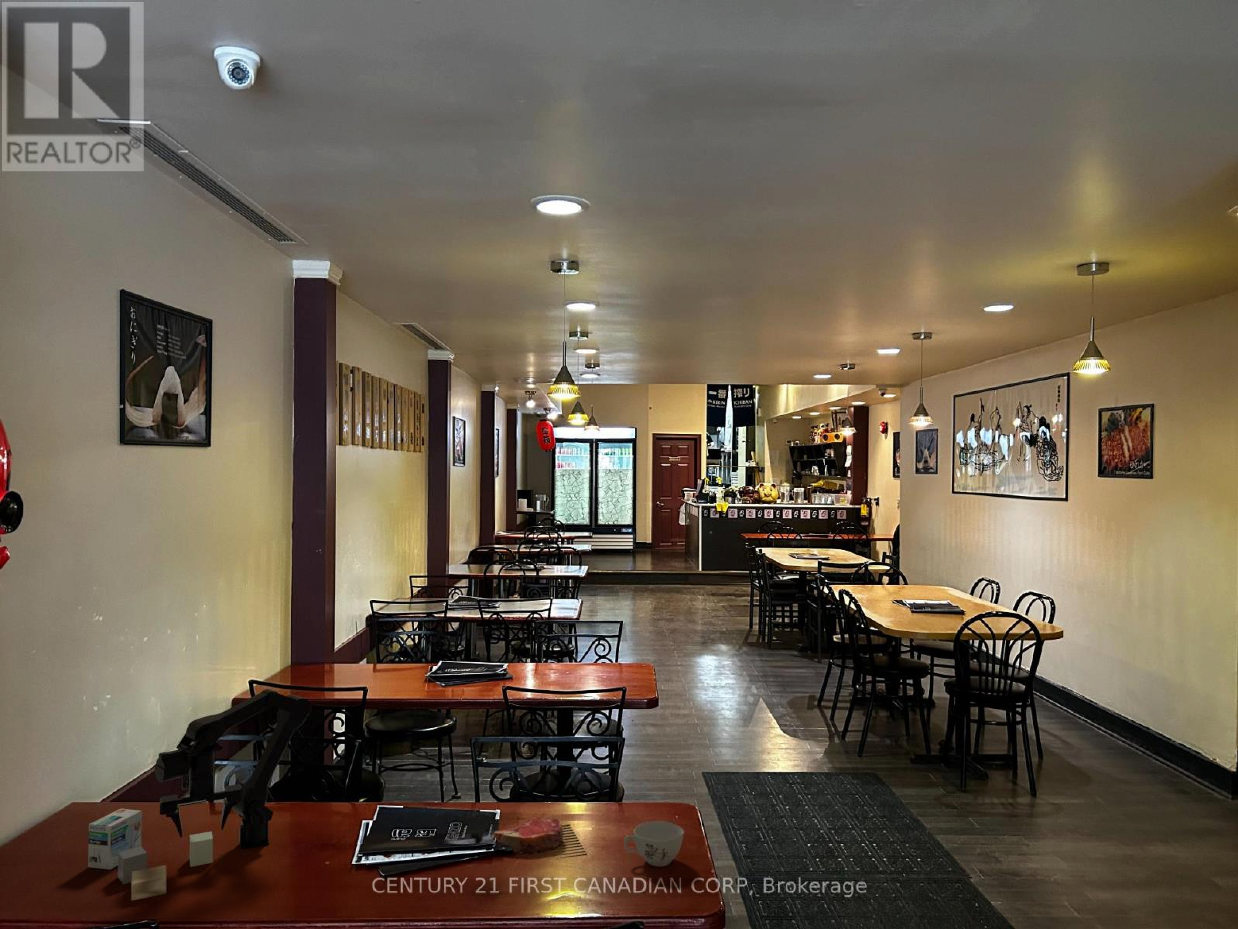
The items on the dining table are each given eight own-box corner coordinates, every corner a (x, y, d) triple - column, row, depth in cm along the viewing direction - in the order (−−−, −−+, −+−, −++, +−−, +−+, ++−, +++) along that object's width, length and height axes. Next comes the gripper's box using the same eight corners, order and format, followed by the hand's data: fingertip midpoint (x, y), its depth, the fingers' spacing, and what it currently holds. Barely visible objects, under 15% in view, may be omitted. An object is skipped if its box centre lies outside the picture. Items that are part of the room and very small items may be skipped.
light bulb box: (110, 870, 209) (110, 826, 209) (86, 868, 210) (87, 824, 210) (142, 852, 219) (143, 809, 220) (120, 849, 221) (120, 807, 221)
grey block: (140, 871, 209) (141, 846, 209) (146, 877, 205) (146, 852, 205) (117, 877, 205) (118, 852, 205) (123, 884, 202) (123, 859, 202)
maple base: (165, 882, 204) (166, 865, 204) (166, 894, 197) (166, 877, 197) (132, 888, 200) (132, 871, 200) (131, 901, 194) (131, 884, 194)
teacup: (679, 850, 220) (679, 819, 220) (687, 872, 208) (687, 839, 208) (622, 852, 219) (621, 821, 219) (626, 874, 207) (626, 841, 207)
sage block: (211, 855, 218) (211, 831, 218) (212, 862, 213) (212, 838, 213) (189, 859, 215) (189, 835, 215) (190, 867, 211) (190, 842, 211)
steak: (568, 826, 237) (568, 806, 237) (587, 858, 217) (587, 837, 217) (478, 837, 230) (478, 817, 230) (489, 871, 210) (489, 849, 210)
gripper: (239, 755, 226) (239, 814, 226) (159, 767, 217) (159, 829, 217) (243, 768, 216) (243, 830, 216) (159, 781, 207) (159, 845, 207)
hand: (201, 833), depth 214 cm, fingers open, 9 cm apart
